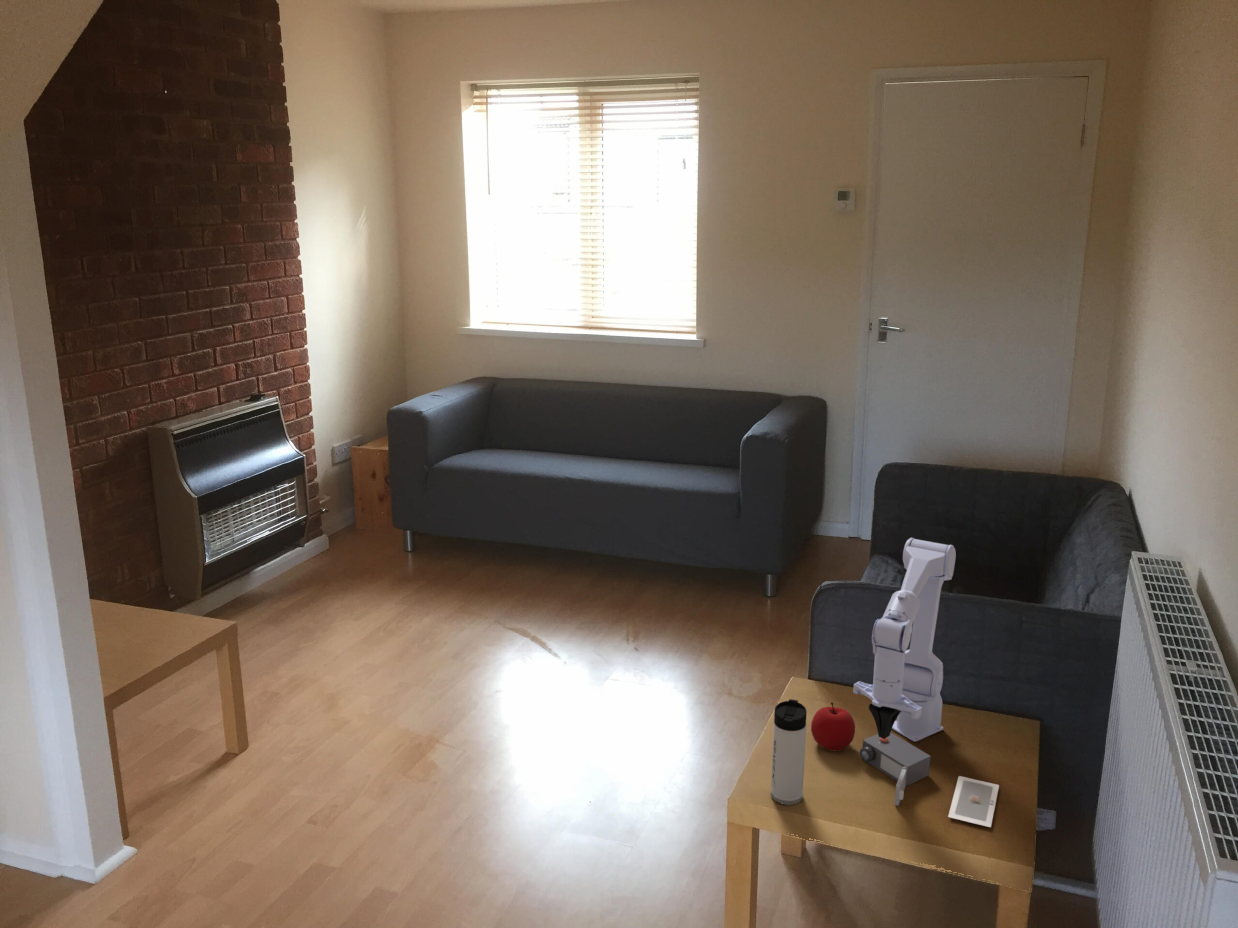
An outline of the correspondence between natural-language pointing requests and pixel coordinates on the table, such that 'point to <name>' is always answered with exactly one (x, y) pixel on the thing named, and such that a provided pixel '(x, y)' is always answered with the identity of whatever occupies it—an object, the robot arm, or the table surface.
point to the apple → (833, 728)
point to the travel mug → (788, 752)
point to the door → (901, 786)
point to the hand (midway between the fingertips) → (884, 735)
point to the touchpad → (974, 801)
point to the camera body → (895, 757)
